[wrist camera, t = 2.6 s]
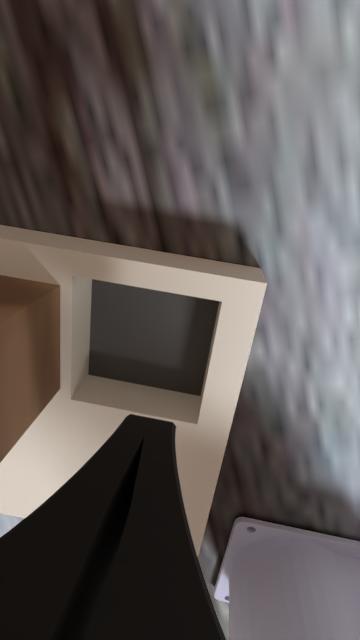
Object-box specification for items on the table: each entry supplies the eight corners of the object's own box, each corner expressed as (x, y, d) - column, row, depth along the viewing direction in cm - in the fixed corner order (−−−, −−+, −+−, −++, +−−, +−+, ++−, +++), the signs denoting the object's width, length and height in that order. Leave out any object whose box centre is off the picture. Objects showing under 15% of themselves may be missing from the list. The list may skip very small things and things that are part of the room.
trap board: (260, 268, 15) (274, 300, 11) (201, 515, 21) (195, 597, 17) (-197, 192, 16) (-343, 194, 12) (-124, 446, 22) (-205, 506, 18)
